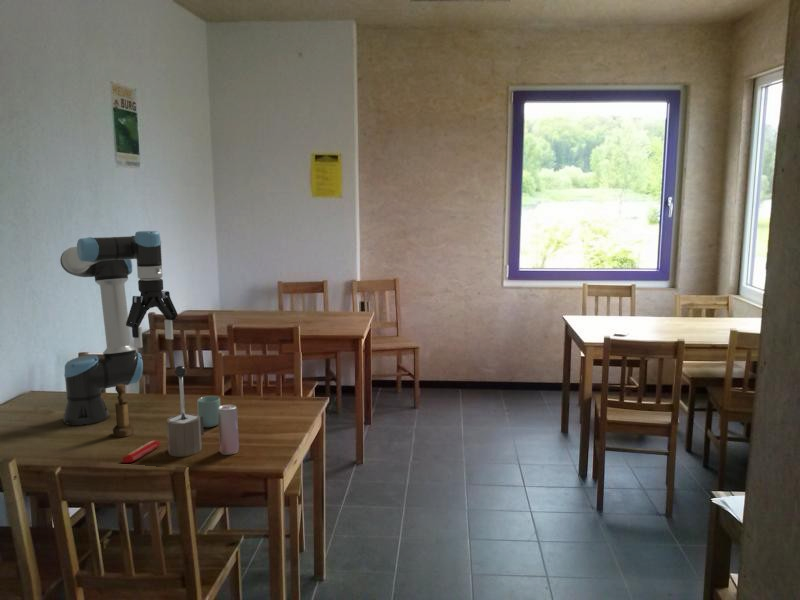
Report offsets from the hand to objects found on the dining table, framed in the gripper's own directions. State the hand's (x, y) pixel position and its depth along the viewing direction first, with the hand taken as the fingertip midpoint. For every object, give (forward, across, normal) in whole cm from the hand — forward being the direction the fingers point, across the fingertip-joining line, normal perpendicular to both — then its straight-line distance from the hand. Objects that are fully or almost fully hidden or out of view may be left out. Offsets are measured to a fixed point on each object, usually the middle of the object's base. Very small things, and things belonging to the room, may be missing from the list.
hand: (154, 343), depth 209 cm
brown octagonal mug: (+34, -1, -13) cm, 37 cm away
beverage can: (+34, +2, -27) cm, 44 cm away
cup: (+34, +20, -4) cm, 40 cm away
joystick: (+25, -2, -13) cm, 28 cm away
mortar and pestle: (+34, +1, +18) cm, 39 cm away
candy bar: (+35, -11, -2) cm, 36 cm away
